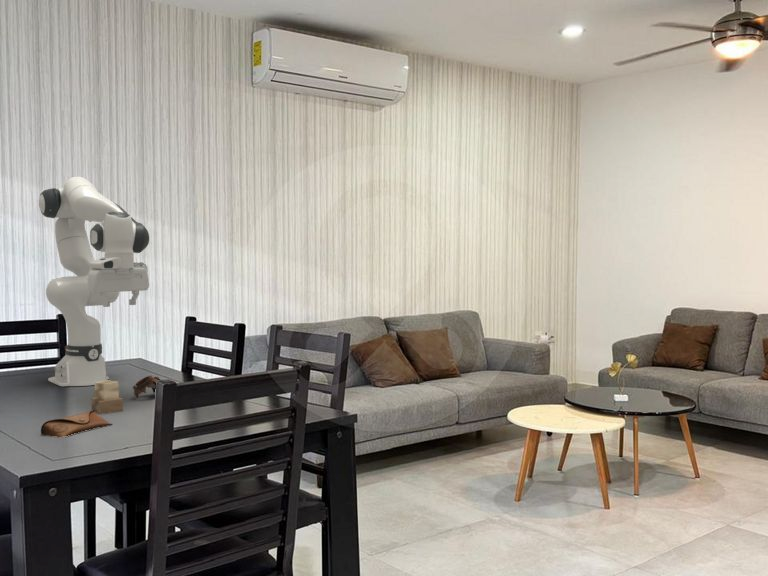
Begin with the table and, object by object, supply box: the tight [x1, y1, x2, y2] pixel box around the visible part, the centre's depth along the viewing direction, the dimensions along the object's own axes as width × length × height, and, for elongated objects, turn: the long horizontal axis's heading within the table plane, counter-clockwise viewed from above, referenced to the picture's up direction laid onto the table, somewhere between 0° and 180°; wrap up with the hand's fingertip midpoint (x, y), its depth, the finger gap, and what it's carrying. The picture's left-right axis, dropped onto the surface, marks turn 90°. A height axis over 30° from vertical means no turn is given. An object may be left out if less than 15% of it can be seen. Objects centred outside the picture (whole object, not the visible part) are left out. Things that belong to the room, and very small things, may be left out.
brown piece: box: [132, 375, 161, 398], centre depth 255 cm, size 12×10×8 cm
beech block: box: [94, 379, 120, 401], centre depth 234 cm, size 5×5×5 cm
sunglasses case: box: [40, 410, 112, 438], centre depth 211 cm, size 18×7×7 cm, turn 154°
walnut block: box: [90, 396, 124, 415], centre depth 234 cm, size 7×7×4 cm
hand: (119, 305), depth 245 cm, fingers open, 8 cm apart
